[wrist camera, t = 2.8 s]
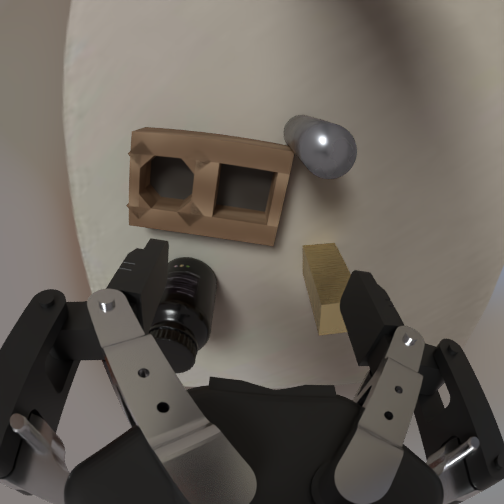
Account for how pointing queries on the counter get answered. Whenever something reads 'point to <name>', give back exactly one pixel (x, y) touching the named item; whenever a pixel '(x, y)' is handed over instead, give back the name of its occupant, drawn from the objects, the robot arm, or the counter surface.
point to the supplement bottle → (184, 312)
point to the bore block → (207, 184)
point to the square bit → (325, 285)
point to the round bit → (321, 145)
